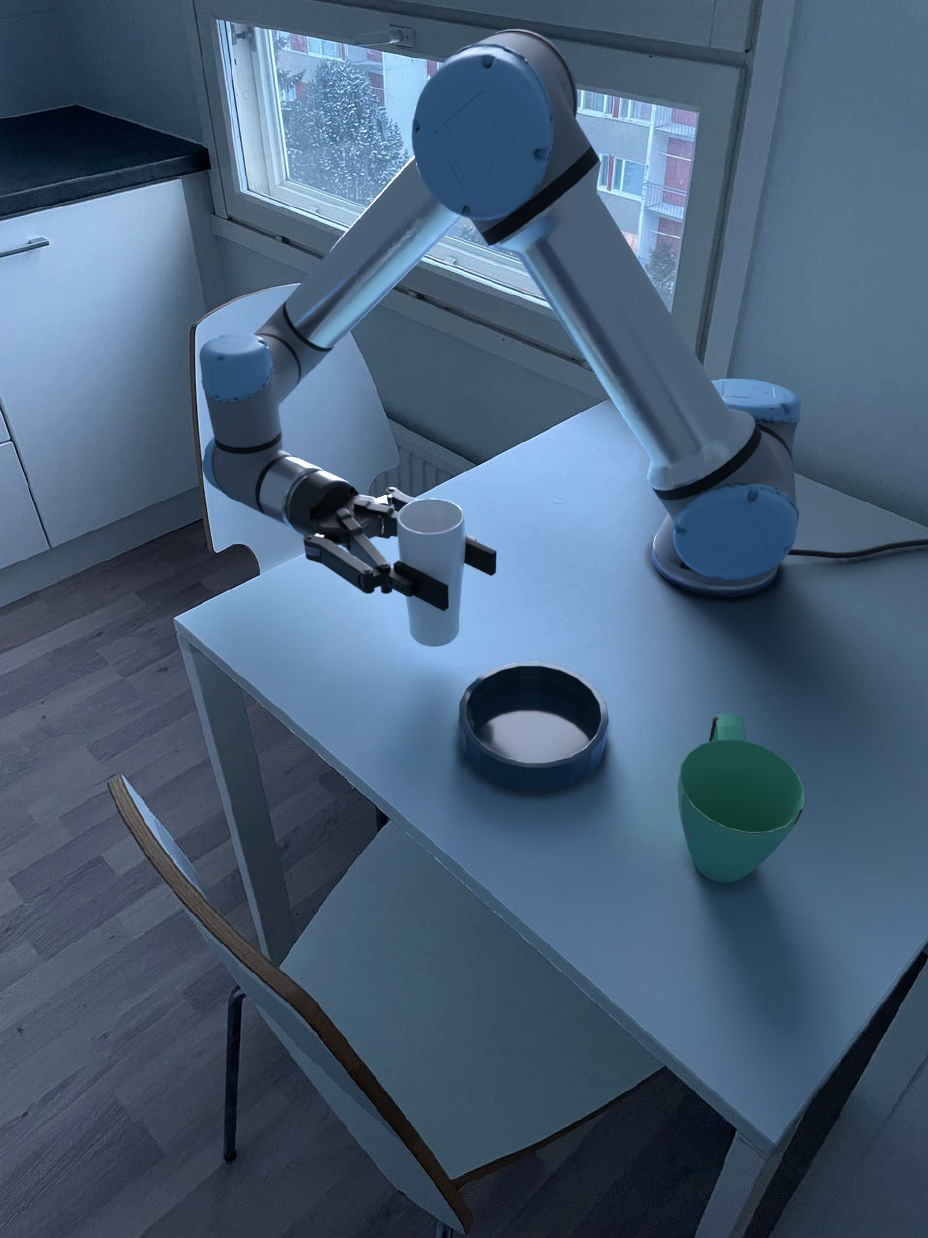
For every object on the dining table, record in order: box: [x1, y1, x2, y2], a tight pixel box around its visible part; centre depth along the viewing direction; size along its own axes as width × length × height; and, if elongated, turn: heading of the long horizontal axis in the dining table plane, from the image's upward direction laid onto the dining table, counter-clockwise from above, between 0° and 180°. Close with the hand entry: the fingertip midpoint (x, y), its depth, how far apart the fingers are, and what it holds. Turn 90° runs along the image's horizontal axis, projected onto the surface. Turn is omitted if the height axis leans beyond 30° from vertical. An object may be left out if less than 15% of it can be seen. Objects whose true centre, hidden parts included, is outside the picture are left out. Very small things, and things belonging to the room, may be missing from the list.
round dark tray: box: [458, 661, 610, 794], centre depth 88 cm, size 14×14×4 cm
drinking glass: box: [396, 498, 466, 648], centre depth 91 cm, size 7×7×15 cm
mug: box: [677, 712, 806, 884], centre depth 76 cm, size 15×10×10 cm
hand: (470, 580), depth 88 cm, fingers closed on drinking glass, 7 cm apart
